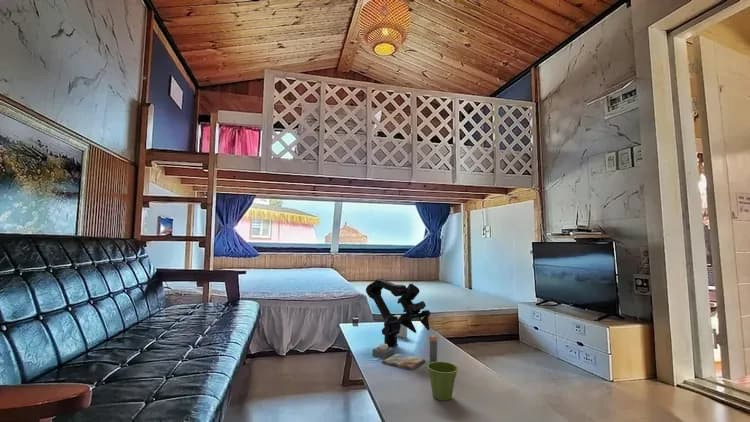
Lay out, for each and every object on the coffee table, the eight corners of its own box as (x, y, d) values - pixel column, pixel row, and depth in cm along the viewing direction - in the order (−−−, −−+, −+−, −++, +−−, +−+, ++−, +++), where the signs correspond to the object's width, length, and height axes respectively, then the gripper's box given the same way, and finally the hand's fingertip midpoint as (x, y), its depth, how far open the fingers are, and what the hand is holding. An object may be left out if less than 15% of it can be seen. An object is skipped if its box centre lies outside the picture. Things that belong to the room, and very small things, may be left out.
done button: (377, 351, 186) (377, 345, 187) (381, 348, 190) (382, 343, 190) (384, 352, 184) (384, 346, 184) (389, 350, 188) (389, 344, 188)
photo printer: (391, 334, 225) (391, 314, 226) (396, 333, 228) (396, 313, 229) (403, 338, 217) (403, 317, 218) (408, 337, 220) (408, 316, 221)
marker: (428, 363, 176) (428, 336, 177) (431, 360, 179) (431, 334, 180) (435, 364, 174) (435, 337, 175) (438, 362, 177) (438, 336, 178)
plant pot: (438, 406, 131) (438, 374, 132) (421, 393, 142) (421, 363, 143) (464, 400, 136) (464, 369, 137) (446, 388, 147) (446, 359, 148)
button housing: (372, 355, 186) (372, 349, 186) (380, 351, 193) (380, 345, 193) (386, 358, 182) (386, 352, 182) (393, 354, 188) (394, 348, 188)
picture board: (382, 363, 175) (382, 360, 175) (396, 355, 186) (396, 352, 186) (412, 370, 166) (412, 367, 166) (425, 361, 178) (425, 358, 178)
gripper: (401, 297, 183) (416, 324, 174) (428, 294, 194) (443, 319, 185) (391, 310, 189) (405, 337, 180) (418, 307, 200) (432, 332, 191)
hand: (422, 331), depth 183 cm, fingers open, 9 cm apart
